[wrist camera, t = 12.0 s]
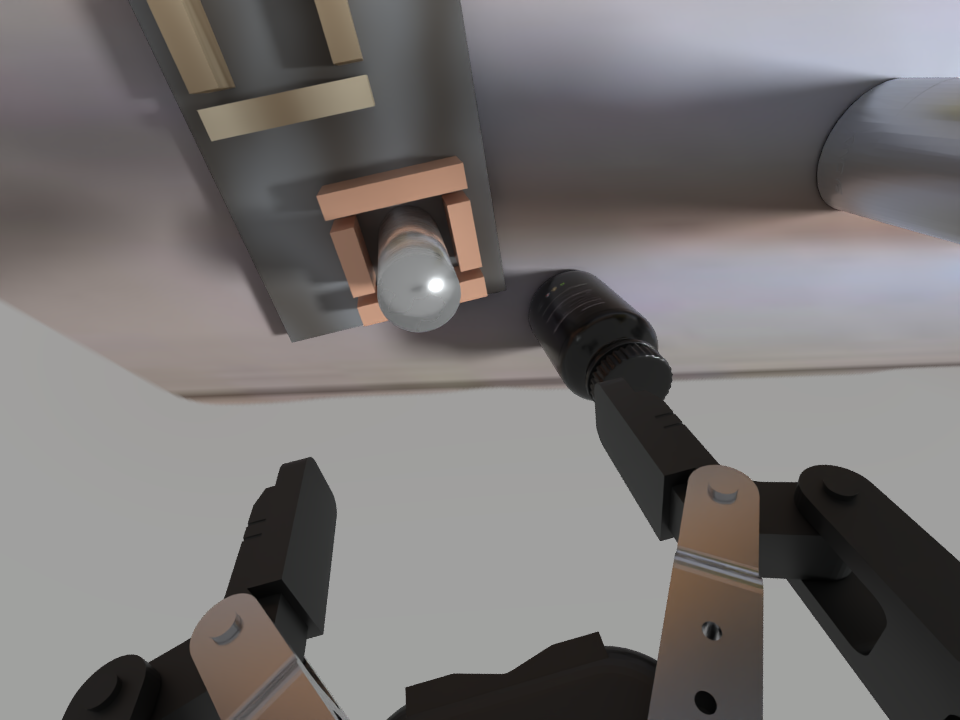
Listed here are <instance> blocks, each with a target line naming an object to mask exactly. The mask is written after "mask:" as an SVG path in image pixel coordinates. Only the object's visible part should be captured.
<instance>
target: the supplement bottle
mask: <svg viewBox="0 0 960 720" xmlns="http://www.w3.org/2000/svg"><path fill="white" fill-rule="evenodd" d="M529 322H530V326H531V329H532V331H533V333H534V335H535V337H536V338H537V340H538V342H539V343H540V345H541V346H542V348H543V350H544V351H545V353H546V354H547V356H548V358H549V359H550V361H551V362H552V364H553V366H554V367H555V369H556V370H557V372H558V374H559V375H560V377H561V378H562V380H563V382H564V383H565V384H566V386H567V387H568V388H569V389H570V390H571V391H572V392H573V393H574V394H576V395H578V396H579V397H582V398H584V399H587V400H591V401H594V402H595V393H594V387H595V384H596V383H600V382H604V381H608V380H612V379H616V378H619V377H622V378H624V379H625V380H626V382H627V383H628V384H629V385H630V386H631V388H632V389H633V390H634V391H635V392H639V391H642V390H646V391H648V392H650V393H652V394H654V395H656V396H657V397H659V398H661V399H662V400H664V399H665V396H666V395H667V394H668V392H669V389H670V388H671V383H672V375H673V374H672V372H671V367H670V366H669V364H668V362H667V361H666V360H665V359H664V358H663V357H662V356H661V355H660V354H659V352H658V340H657V336H656V333H655V331H654V329H653V327H652V326H651V324H650V323H649V322H648V321H647V320H646V319H645V318H644V317H643V316H642V315H641V314H640V313H638V312H637V311H636V310H635V309H634V308H633V307H631V306H630V305H629V304H628V303H627V302H626V301H624V300H623V299H622V298H621V297H620V296H619V295H617V294H616V293H615V292H614V291H613V290H612V289H610V288H609V287H608V286H607V285H606V284H605V283H603V282H602V281H601V280H600V279H598V278H597V277H596V276H594V275H592V274H590V273H587V272H584V271H567V272H563V273H560V274H558V275H555V276H554V277H552V278H550V279H549V280H547V281H546V282H545V283H544V284H543V285H542V286H541V287H540V288H539V289H538V291H537V292H536V294H535V295H534V297H533V299H532V302H531V305H530V309H529Z"/></svg>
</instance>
